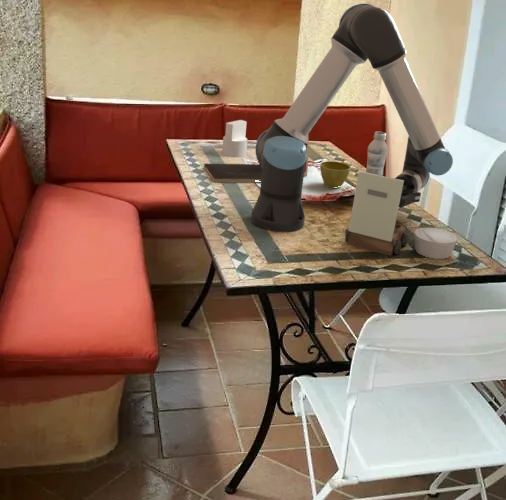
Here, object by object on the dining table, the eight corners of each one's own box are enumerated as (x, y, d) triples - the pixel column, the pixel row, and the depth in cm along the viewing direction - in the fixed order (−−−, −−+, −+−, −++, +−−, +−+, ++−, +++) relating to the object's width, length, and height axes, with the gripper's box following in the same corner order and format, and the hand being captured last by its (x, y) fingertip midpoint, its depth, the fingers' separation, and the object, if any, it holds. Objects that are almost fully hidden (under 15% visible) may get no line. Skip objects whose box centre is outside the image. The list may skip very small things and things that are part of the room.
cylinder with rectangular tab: (231, 149, 269) (234, 118, 264) (250, 154, 264) (253, 123, 259) (217, 153, 262) (219, 121, 257) (236, 158, 257) (238, 126, 252)
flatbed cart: (358, 230, 199) (360, 214, 197) (407, 243, 193) (410, 226, 192) (341, 245, 188) (344, 227, 186) (393, 258, 182) (397, 240, 180)
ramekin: (403, 250, 189) (406, 232, 186) (425, 241, 196) (429, 224, 194) (439, 265, 181) (443, 246, 179) (461, 255, 189) (465, 237, 187)
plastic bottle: (381, 196, 230) (391, 136, 223) (360, 193, 231) (369, 133, 224) (381, 190, 236) (391, 132, 228) (361, 187, 237) (370, 129, 230)
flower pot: (333, 192, 230) (336, 171, 227) (311, 183, 237) (314, 163, 234) (353, 188, 236) (356, 167, 233) (331, 179, 243) (334, 159, 240)
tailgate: (349, 230, 186) (360, 171, 181) (391, 240, 181) (403, 180, 176) (348, 231, 185) (358, 171, 180) (390, 241, 180) (402, 181, 175)
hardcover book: (280, 184, 235) (281, 177, 234) (213, 184, 229) (213, 177, 228) (267, 170, 249) (268, 163, 248) (203, 169, 243) (204, 163, 242)
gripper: (425, 203, 204) (403, 226, 184) (381, 193, 209) (356, 215, 189) (429, 178, 201) (408, 199, 181) (385, 169, 206) (360, 188, 186)
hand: (381, 207), depth 185 cm, fingers closed
